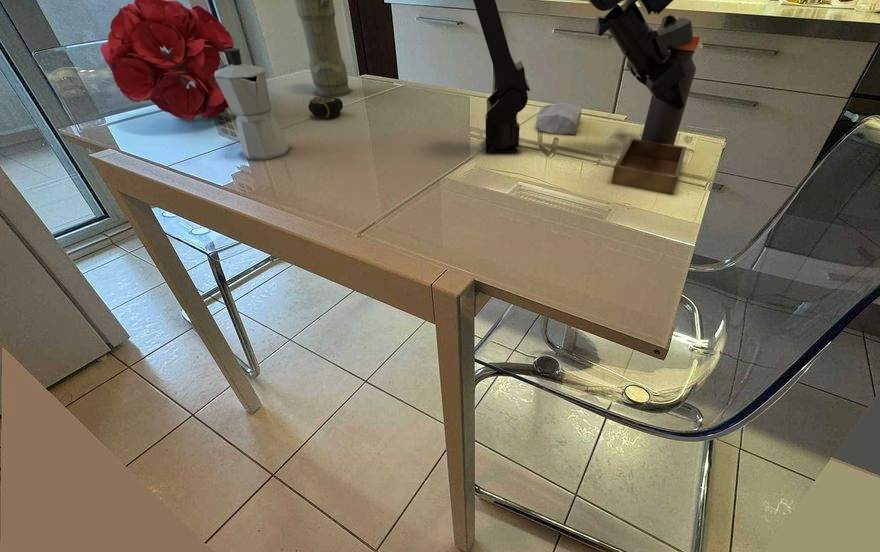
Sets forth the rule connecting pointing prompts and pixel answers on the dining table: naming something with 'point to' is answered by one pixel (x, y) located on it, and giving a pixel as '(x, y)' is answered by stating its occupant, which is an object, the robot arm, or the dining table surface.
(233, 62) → the coffee maker
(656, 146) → the tray
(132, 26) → the bouquet
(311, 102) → the tape measure
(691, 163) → the dining table surface
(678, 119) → the vinegar
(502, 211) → the dining table surface
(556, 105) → the stone block
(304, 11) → the greenish beige column
